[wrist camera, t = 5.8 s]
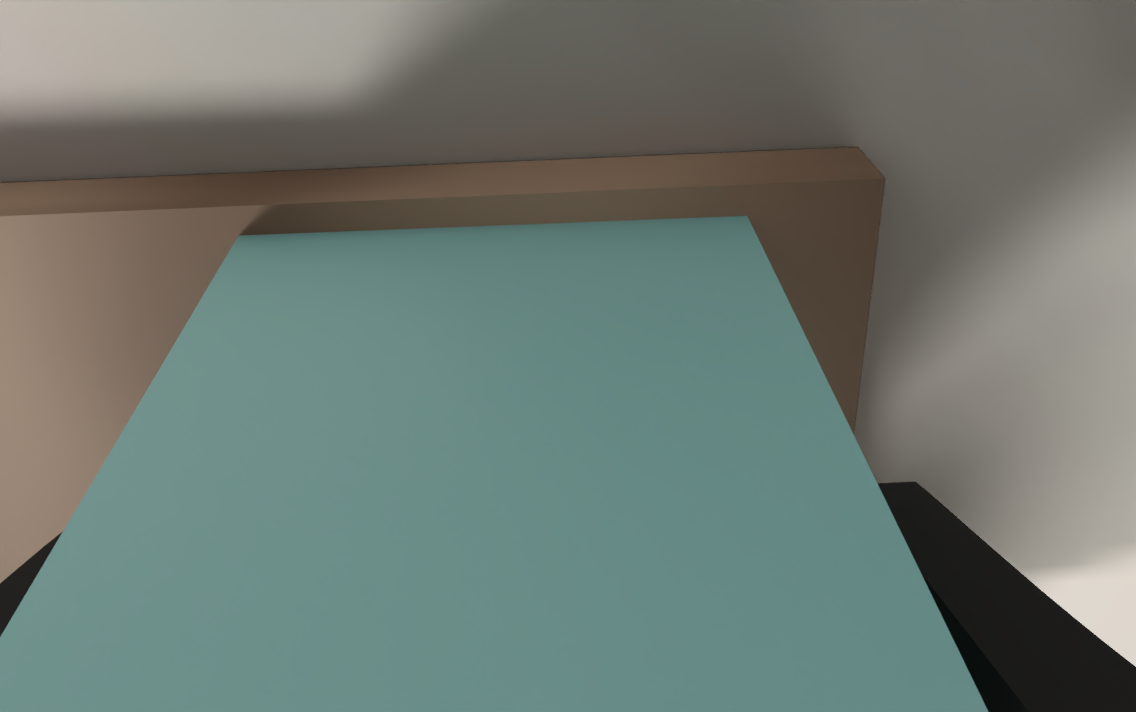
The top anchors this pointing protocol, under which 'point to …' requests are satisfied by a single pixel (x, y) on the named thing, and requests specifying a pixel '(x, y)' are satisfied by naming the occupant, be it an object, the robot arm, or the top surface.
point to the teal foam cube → (487, 495)
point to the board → (335, 204)
